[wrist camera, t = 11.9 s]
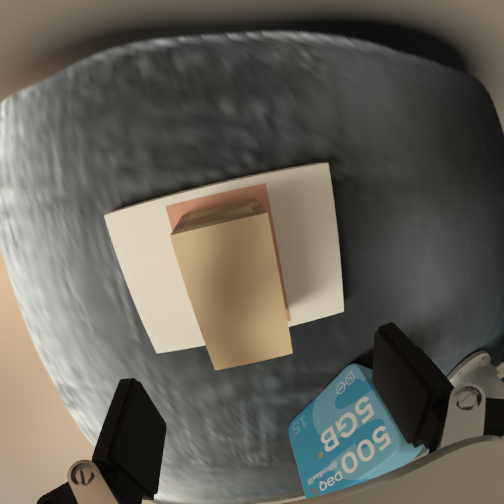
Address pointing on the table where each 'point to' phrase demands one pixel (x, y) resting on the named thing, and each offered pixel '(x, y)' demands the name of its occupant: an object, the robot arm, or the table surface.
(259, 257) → the tan cardboard box
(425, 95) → the table surface
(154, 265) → the plate
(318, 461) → the data package
